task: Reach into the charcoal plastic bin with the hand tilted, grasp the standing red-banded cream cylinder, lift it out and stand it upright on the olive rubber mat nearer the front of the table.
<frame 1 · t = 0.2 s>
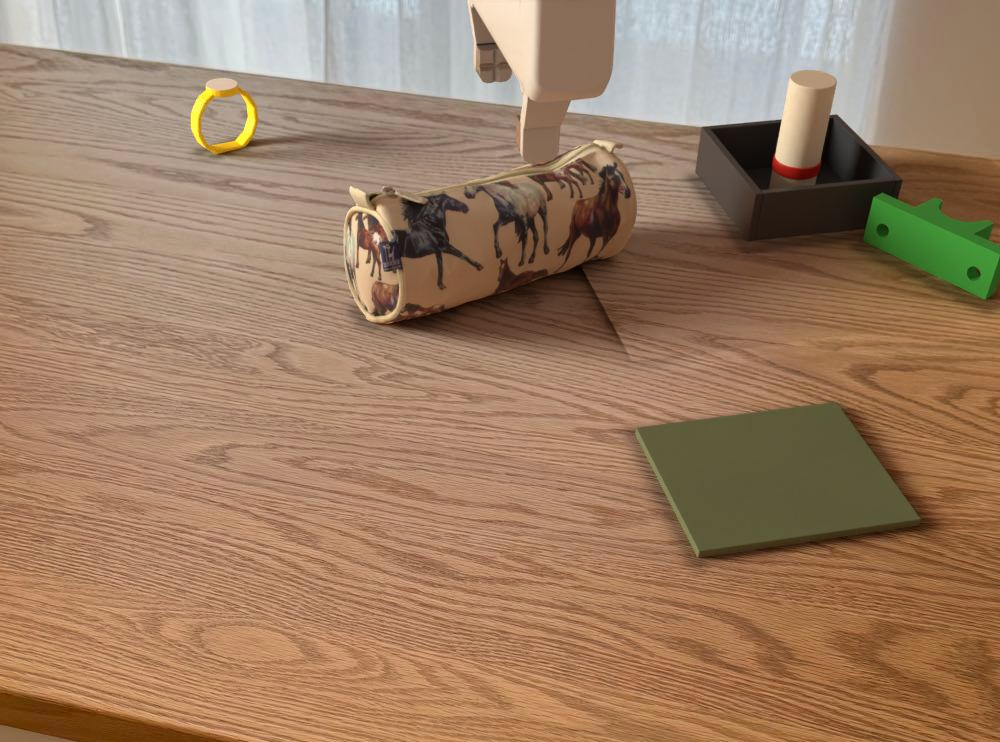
hand: (513, 114, 63), 23 cm above the table, tool pointing down, fingers open, 8 cm apart
bin: (788, 206, 104), on the table
mat: (770, 478, 78), on the table
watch: (228, 151, 111), on the table
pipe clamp: (933, 273, 96), on the table
pencil case: (491, 286, 95), on the table
red-banded cream cylinder: (789, 197, 103), point 1 cm above the table, touching bin
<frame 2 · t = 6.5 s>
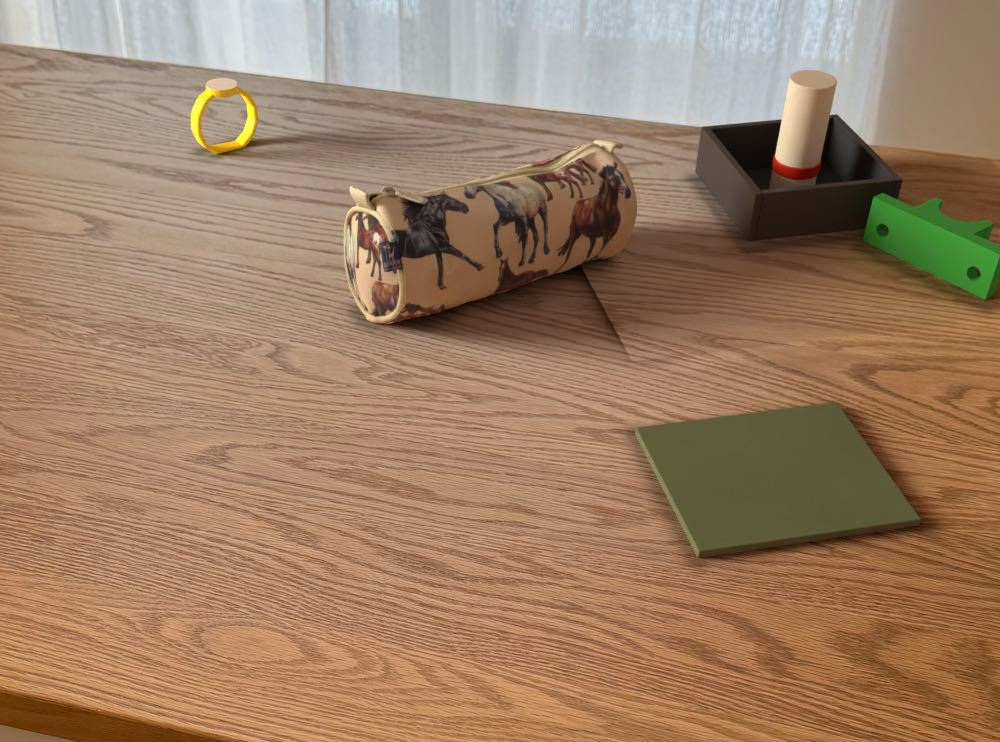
nothing on the table moved.
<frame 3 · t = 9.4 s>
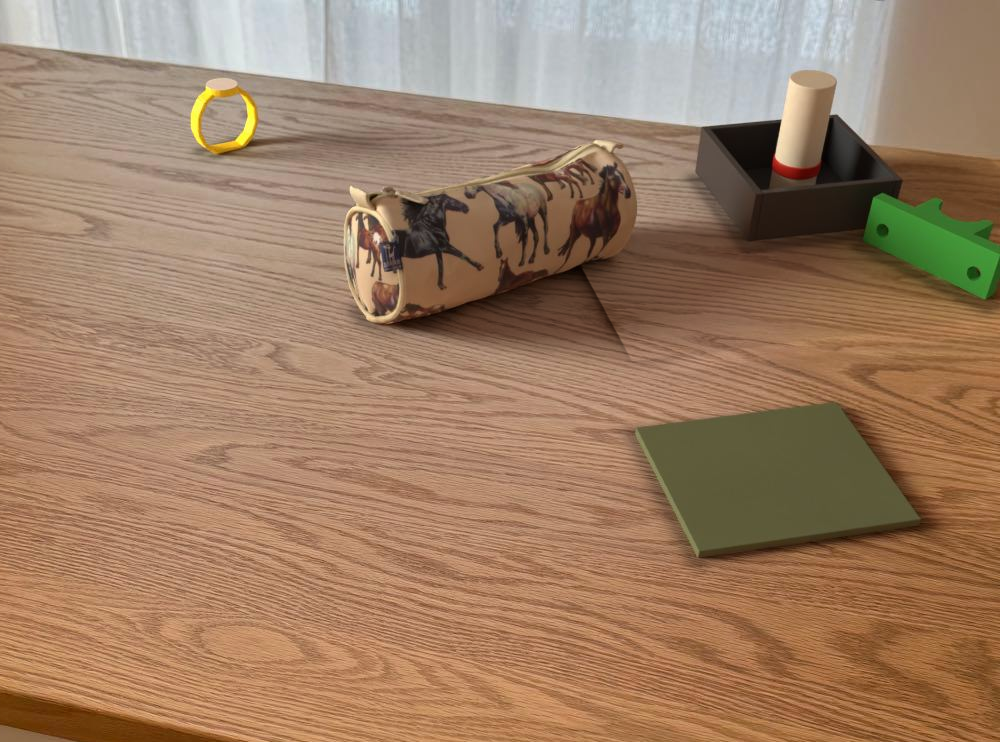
nothing on the table moved.
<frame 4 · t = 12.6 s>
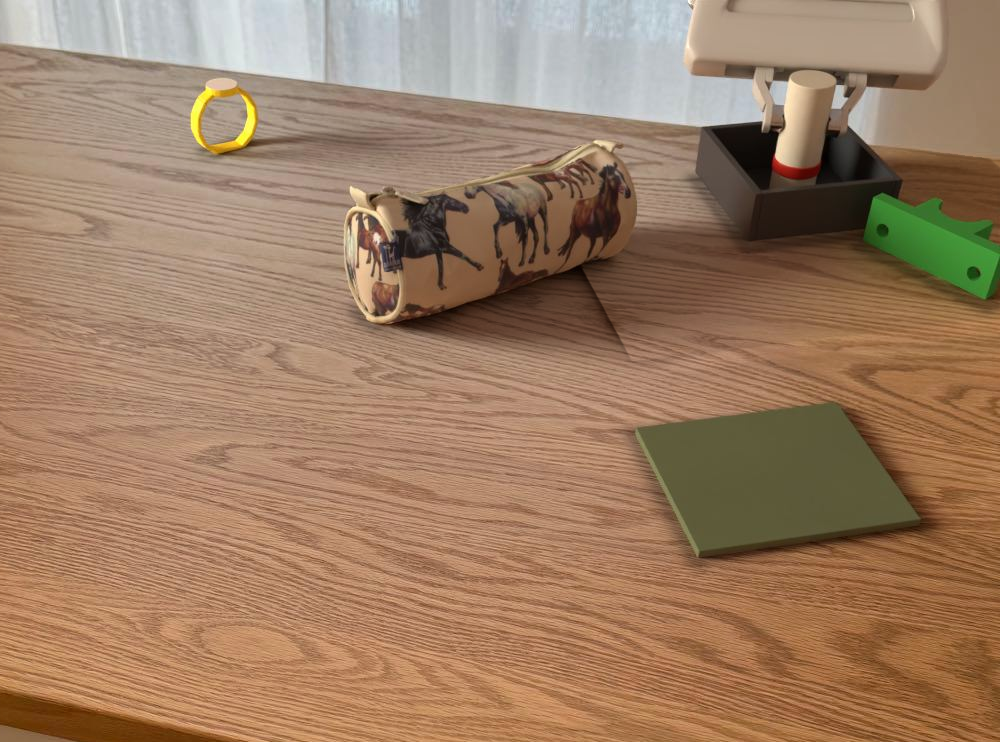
hand: (803, 133, 99), 7 cm above the table, tool tilted 45°, fingers closed on red-banded cream cylinder, 3 cm apart
red-banded cream cylinder: (789, 197, 103), point 1 cm above the table, touching bin, gripper
everything else where it was.
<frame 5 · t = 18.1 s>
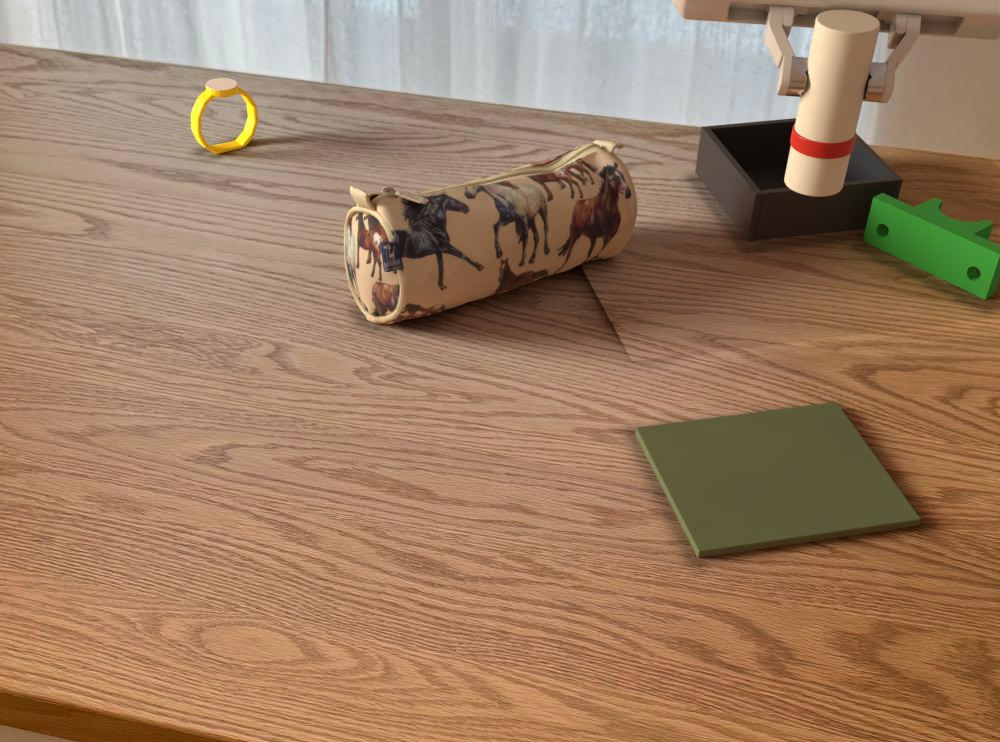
hand: (834, 96, 73), 20 cm above the table, tool tilted 45°, fingers closed on red-banded cream cylinder, 3 cm apart
red-banded cream cylinder: (813, 183, 78), point 14 cm above the table, touching gripper
everything else where it was.
when the fingers open (6 cm above the table, at t = 23.6 s): red-banded cream cylinder stays where it is, resting on mat.
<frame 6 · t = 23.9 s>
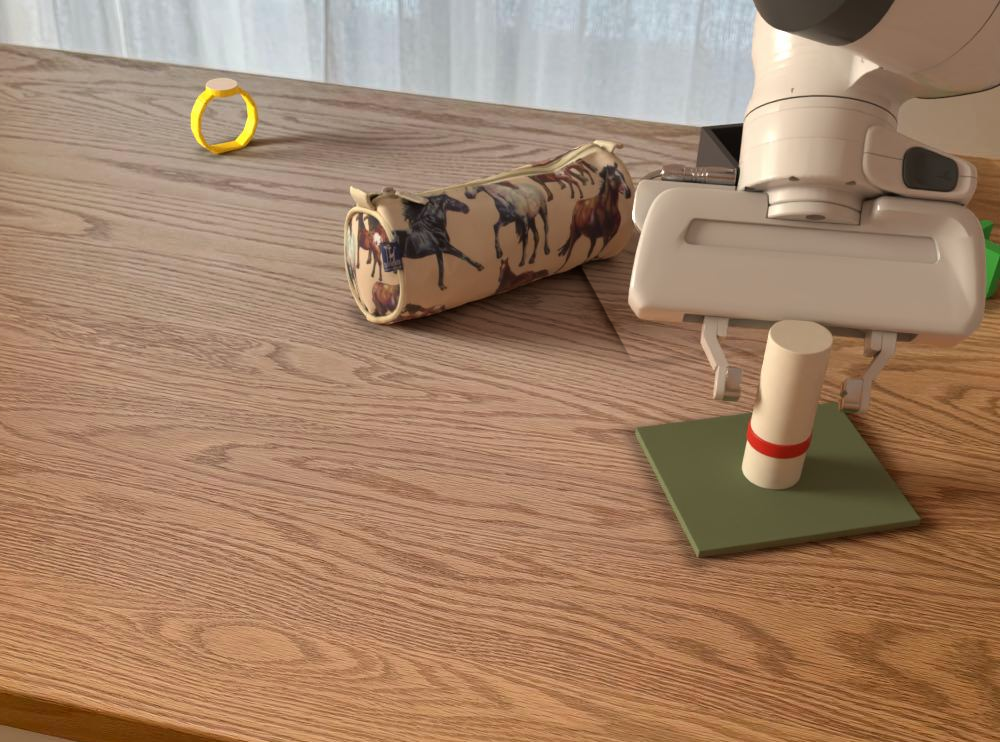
hand: (789, 406, 73), 6 cm above the table, tool tilted 45°, fingers open, 6 cm apart
red-banded cream cylinder: (770, 471, 77), point 1 cm above the table, touching mat
everything else where it was.
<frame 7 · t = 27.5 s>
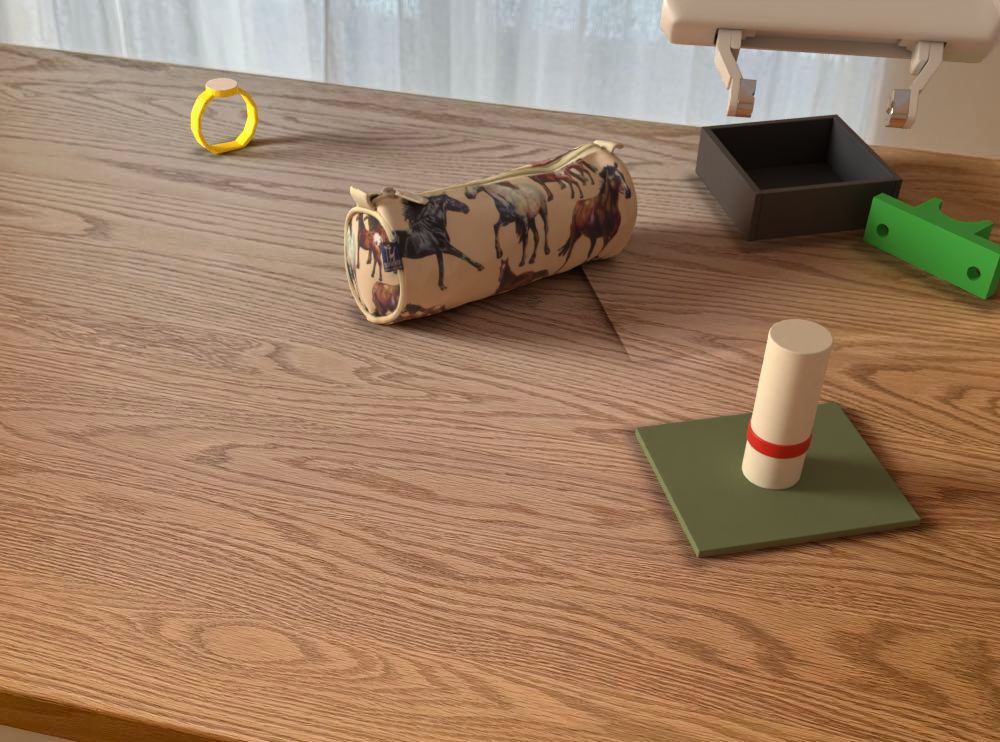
hand: (819, 119, 74), 18 cm above the table, tool tilted 45°, fingers open, 8 cm apart
nothing on the table moved.
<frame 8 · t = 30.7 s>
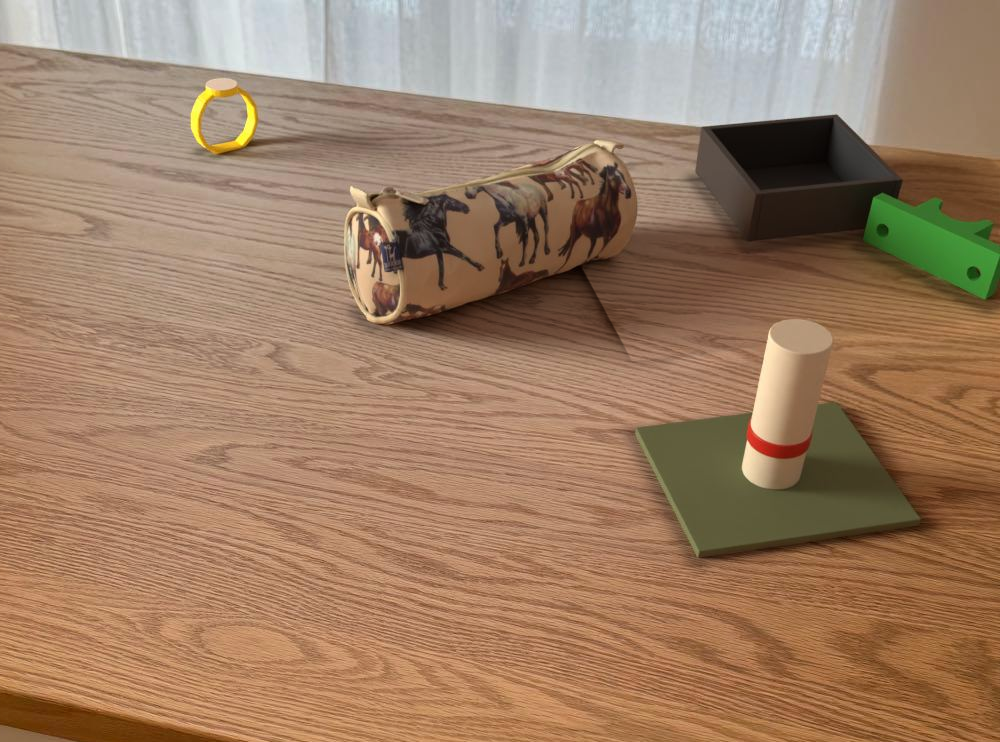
nothing on the table moved.
at the end: red-banded cream cylinder inside the target area on the mat (0.1 cm from its centre), point 0.6 cm above the mat's base; red-banded cream cylinder tilted 0°; the gripper is holding nothing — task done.
